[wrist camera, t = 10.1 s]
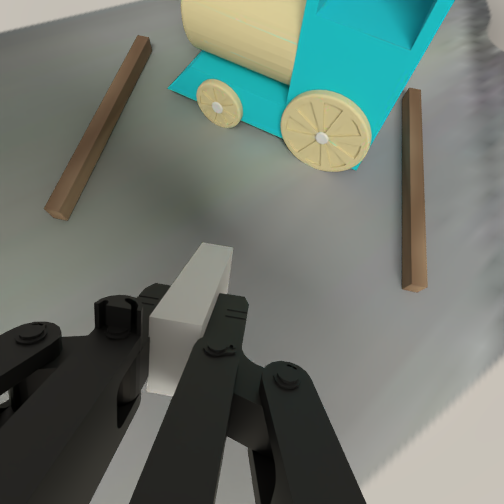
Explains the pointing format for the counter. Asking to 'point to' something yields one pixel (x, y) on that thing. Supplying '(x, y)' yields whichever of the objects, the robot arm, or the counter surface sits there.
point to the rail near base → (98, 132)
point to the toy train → (306, 68)
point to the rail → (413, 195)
